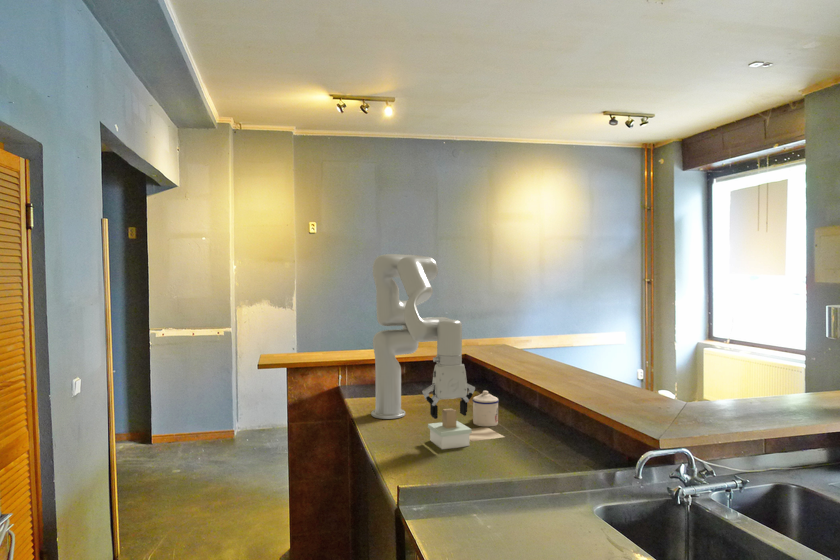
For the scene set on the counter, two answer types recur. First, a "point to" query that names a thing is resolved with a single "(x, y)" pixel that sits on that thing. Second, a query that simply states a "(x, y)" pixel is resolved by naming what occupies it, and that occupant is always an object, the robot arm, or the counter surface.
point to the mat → (483, 434)
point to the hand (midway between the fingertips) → (448, 416)
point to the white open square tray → (449, 440)
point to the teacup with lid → (485, 410)
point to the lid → (449, 425)
